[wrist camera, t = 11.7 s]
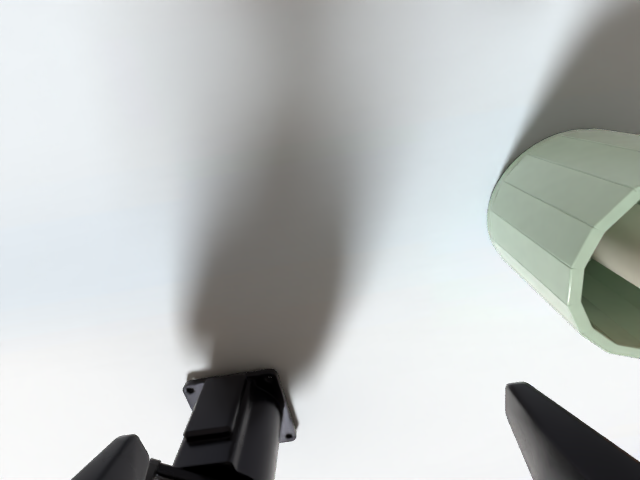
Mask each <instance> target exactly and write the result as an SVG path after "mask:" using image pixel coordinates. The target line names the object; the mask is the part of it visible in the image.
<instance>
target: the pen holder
mask: <svg viewBox="0 0 640 480" xmlns="http://www.w3.org/2000/svg"><path fill="white" fill-rule="evenodd" d="M635 204H639V205H640V135H637V134H631V133H624V132H617V131H610V130H603V129H596V128H595V129H577V130H570V131H566V132H562V133H558V134H556V135H553V136H551V137H548V138H546V139H544V140H542V141H540V142H538V143H536V144H535V145H533V146H532V147H530V148H529V149H527V150H526V151H525V152H524V153H522V154H521V155H520V156H519V157H518V158H517V159H516V160H515V161H514V162H513V163H512V164H511V165H510V166H509V167H508V168H507V170H506V171H505V172H504V173H503V175H502V176H501V178H500V179H499V181H498V183H497V185H496V187H495V189H494V191H493V193H492V196H491V199H490V202H489V207H488V212H487V227H488V233H489V237H490V240H491V242H492V244H493V246H494V248H495V249H496V251H497V252H498V254H499V255H500V256H501V258H502V259H503V261H504V262H505V263H506V264H508V265H509V266H510V267H511V268H512V269H513V270H514V271H515V272H516V273H517V274H518V275H519V276H520V277H521V278H522V279H523V280H524V281H525V282H526V283H527V284H528V285H529V286H530V287H531V288H533V289H534V290H535V291H536V292H537V293H538V294H539V295H540V296H541V297H542V298H543V299H544V300H545V301H546V302H547V303H548V304H549V305H550V306H551V307H552V308H553V309H554V310H555V311H556V312H557V313H559V314H560V315H561V316H562V317H563V318H564V319H565V320H566V321H567V322H568V323H569V324H570V325H571V326H572V327H573V328H574V329H575V330H576V331H577V332H578V333H579V334H580V335H582V336H583V337H585V338H586V339H588V340H589V341H590V342H592V343H593V344H595V345H596V346H598V347H599V348H601V349H602V350H604V351H605V352H607V353H610V354H616V355H621V356H627V357H633V358H639V359H640V288H638V287H637V286H635V285H633V284H632V283H630V282H629V281H627V280H625V279H624V278H622V277H621V276H619V275H618V274H616V273H614V272H613V271H611V270H610V269H608V268H607V267H605V266H603V265H602V264H600V263H599V262H597V261H595V260H594V259H592V258H591V256H592V254H593V253H594V251H595V249H596V247H597V246H598V244H599V242H600V240H601V238H602V237H603V235H604V233H605V232H606V231H607V230H608V229H609V228H610V227H611V226H612V225H613V224H614V223H615V222H617V221H618V220H619V219H620V218H621V217H622V216H623V215H624V214H625V213H626V212H627V211H628V210H629V209H631V208H632V207H633V206H634V205H635Z"/></svg>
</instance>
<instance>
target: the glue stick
mask: <svg viewBox="0 0 640 480" xmlns="http://www.w3.org/2000/svg"><path fill="white" fill-rule="evenodd" d="M591 258H592V259H594V260H595V261H597V262H599V263H600V264H602V265H603V266H605V267H607V268H608V269H610V270H611V271H613V272H614V273H616V274H618V275H619V276H621V277H622V278H624V279H625V280H627V281H629V282H630V283H632V284H633V285H635V286H637V287H638V288H640V205H639V204H635V205H634V206H633V207H632V208H631V209H629V210H628V211H627V212H626V213H625V214H624V215H623V216H622V217H621V218H620V219H619V220H618V221H617V222H615V223H614V224H613V225H612V226H611V227H610V228H609V229H608V230H607V231H606V232H605V233H604V235H603V237H602V238H601V240H600V242H599V244H598V246H597V247H596V249H595V251H594V253H593V254H592V256H591Z"/></svg>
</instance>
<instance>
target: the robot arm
mask: <svg viewBox="0 0 640 480" xmlns="http://www.w3.org/2000/svg"><path fill="white" fill-rule="evenodd" d="M268 376H271V377H272V378H270V377H268ZM191 388H192V389H191ZM183 392H184V394H185V397H186V399H187V401H188V403H189V405H190V407H191V409H192V414H191V416H190V419H189V421H188V424H187V426H186V428H185V431H184V434H183V436H184V438H183V441H182V443H181V446H180V448H179V450H178V453H177V455H176V458H175V460H174V463H173V465H172V466H171V465H167V464H164V463H161V461H160V460H157V459H153V458H151V459H150V461H149V455H148V453H147V451H146V449H145V448H144V446H143V444H142V442H141V441H140V439H139V437H138V436H137V435H135V434H131V435H123V436H120V437H118V438H116V439H115V440H114V441H113V442H112V443H110V444H109V445H108V446H107V447H106V448H105V449H104V450H103V451H102V452H101V453H100V454H98V455H97V456H96V457H95V458H94V459H93V460H92V461H91V462H90V463H89V464H88V465H86V466H85V467H84V468H83V469H82V470H81V471H80V472H79V473H78V474H77V475H76V476H75V477H73V478H72V479H71V480H274V479H275V471H276V463H277V455H278V448H279V443H282V442H289V441H293V440H295V438H296V428H295V425H294V422H293V419H292V416H291V413H290V410H289V407H288V403H287V400H286V397H285V394H284V391H283V388H282V385H281V382H280V379H279V376H278V373H277V371H275V370H273V369H265V370H258V371H251V372H245V373H238V374H231V375H224V376H218V377H211V378H204V379H197V380H190V381H187V382H186V383H185V385H184V387H183ZM505 411H506V416H507V419H508V422H509V424H510V426H511V429H512V431H513V433H514V436H515V438H516V440H517V443H518V445H519V447H520V450H521V452H522V455H523V457H524V459H525V462H526V464H527V466H528V469H529V471H530V473H531V476H532V478H533V480H640V462H639V461H638V460H636V459H635V458H633V457H632V456H631V455H629V454H628V453H626V452H625V451H624V450H622V449H621V448H619V447H618V446H616V445H615V444H614V443H612V442H611V441H609V440H608V439H606V438H605V437H604V436H602V435H601V434H599V433H598V432H597V431H595V430H594V429H592V428H591V427H589V426H588V425H587V424H585V423H584V422H582V421H581V420H579V419H578V418H577V417H575V416H574V415H572V414H571V413H570V412H568V411H567V410H565V409H564V408H562V407H561V406H560V405H558V404H557V403H555V402H554V401H552V400H551V399H550V398H548V397H547V396H545V395H544V394H543V393H541V392H540V391H538V390H537V389H535V388H534V387H533V386H531V385H530V384H528V383H526V382H516V383H509V384H507V385H506V388H505Z"/></svg>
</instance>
